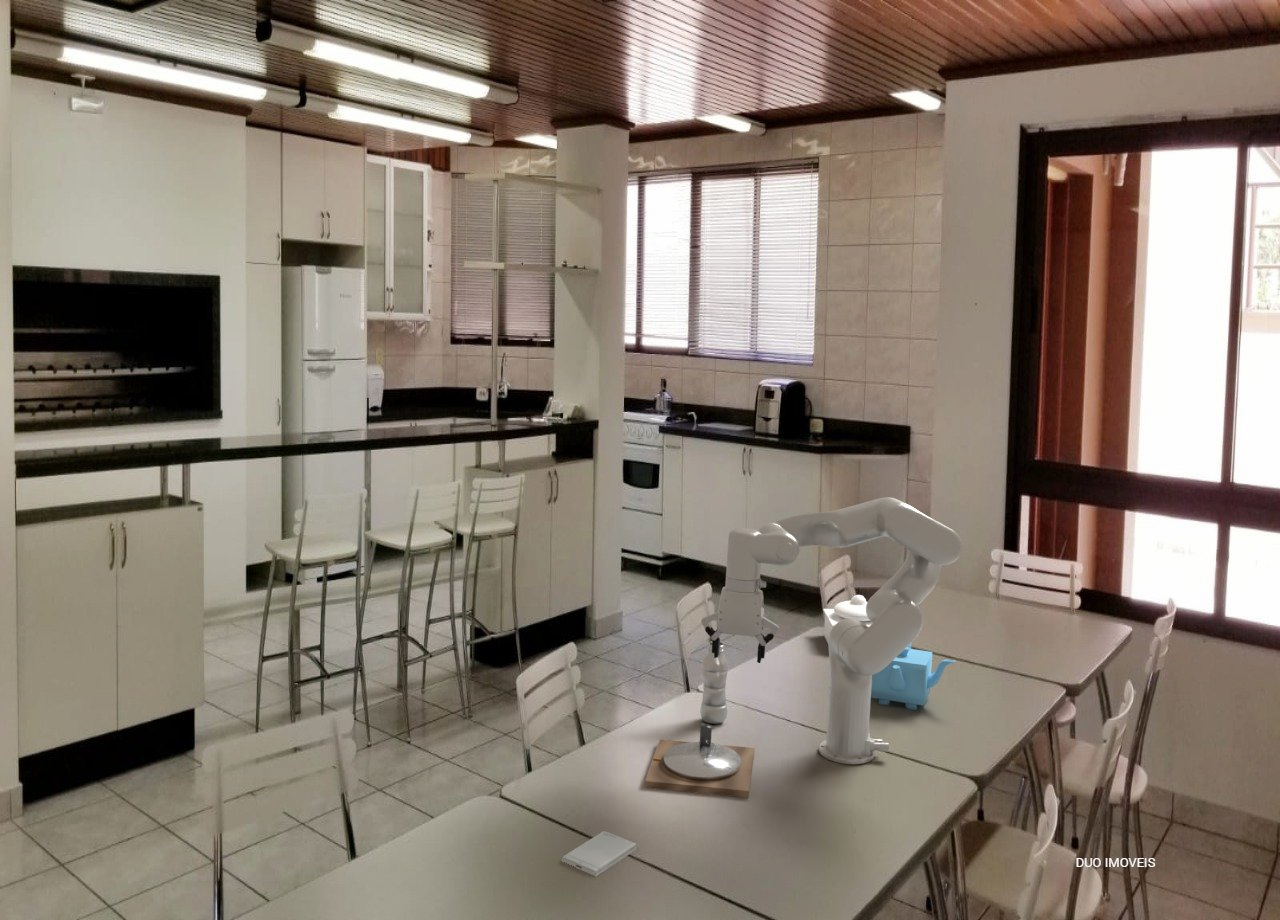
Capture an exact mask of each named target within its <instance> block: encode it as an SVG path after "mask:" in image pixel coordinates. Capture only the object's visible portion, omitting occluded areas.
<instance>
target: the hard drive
mask: <svg viewBox="0 0 1280 920" xmlns="http://www.w3.org/2000/svg"><path fill="white" fill-rule="evenodd" d="M637 849H638V845H637V843H636V842H633V841H631V840H629V839H626V838H623V837H621V836H619V835H616V834H613V833H611V832H608V831H604V830H603V831H601V832H600V833H598V834H596V835H595V836H594V837H591V839H588V840H587V841H585V842H583V843H582V844H580V845H579V846H577V847H576V848H574V849H572V850H570V851H569V852H568V853H566V854H565V855H563V856H562V857H561V859H560V860H561V861H563V862H562V863H564V862H565V863H564V864H566V863H567V864H566V865H568V864H569V866H571V865H572V866H571V867H573V866H574V867H573V868H575V867H576V868H575V869H578V870H579V871H583V872H585V873H587V874H589V875H592V876H594V877H598V876H599V875H601V874H602V873H604V872H605V871H607V870H608V869H609V868H611V867H613V866H614V865H616V864H617V863H619V862H620V861H622V860H623V859H624V858H626V857H627V856H629V855H630V854H631V853H634V852H635V851H636V850H637Z"/></svg>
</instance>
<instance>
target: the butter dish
mask: <svg viewBox="0 0 1280 920" xmlns="http://www.w3.org/2000/svg"><path fill="white" fill-rule="evenodd" d="M867 602H868V601H867V599H866V598H865V596H864V595H861V594H856V595H854V596H852V597H851V599H850V600H845V601H841V602H839V603H836V605H834V607H833V608H822V611H823V613H824V621H823V622H824V625H823V637H824V639H825V640H826V643H827V644H828V646H829V635H830V632H831V630H832V628H833V627H834V626H835V625H836V624H837V623H838V622H839V621H841V620H844V619H855V620H858V621H860V622H862V623H864V624H865V625H866V626H868V627H869V626H870V625H871V624H872V622H871V621H870V619H869V618H868V616H867V614H866V605H867Z"/></svg>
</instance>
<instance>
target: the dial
mask: <svg viewBox="0 0 1280 920" xmlns="http://www.w3.org/2000/svg"><path fill="white" fill-rule="evenodd" d="M699 728H700V730H699V741H687V742H688V743H682V744H678V745H675V746H673V747H671V748H669V749H668V750H667V751H666V752H665V754H664V765H665V767H666V768H667V769H668V770H669V771H671V772H672V773H674V774H676V775H679V776H682V777H685V778H689V779H696V780H717V779H723V778H727V777H729V776H732V775H734V774H735V773H737V772H738V771H739V769H740V767H741V758H740V756H739V755H738V754H737V753H736V752H735V751H734V750H732V749H730V748H728V747H726V746H723V745H724V744H719V743H714V742H712V732H713V731H712V728H713V726H712V725H711V723H702V724H700V727H699Z"/></svg>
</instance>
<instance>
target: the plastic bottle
mask: <svg viewBox="0 0 1280 920" xmlns="http://www.w3.org/2000/svg"><path fill="white" fill-rule="evenodd" d="M724 646H725V645H724V643H723V642H721V641H720V648H719V655H718V657H717V658H714V653H712V641H709V642H708V647H707V652H708V653H707V654H706V655H705V656H704V658H702V662H701V671H702V679H703V684H702V685H703V690H702V702H701V705H700V711H699V712H700V717H701V719H702V721H704V722H706V724H716V725H717V724H722V723H724V722H725V721H726V719H727V716H728V706H727V699H726V689H727V687H726V686H727V677H728V671H729V662H728V660H727V657H726V655H725V654H724V651H725V649H724Z"/></svg>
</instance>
